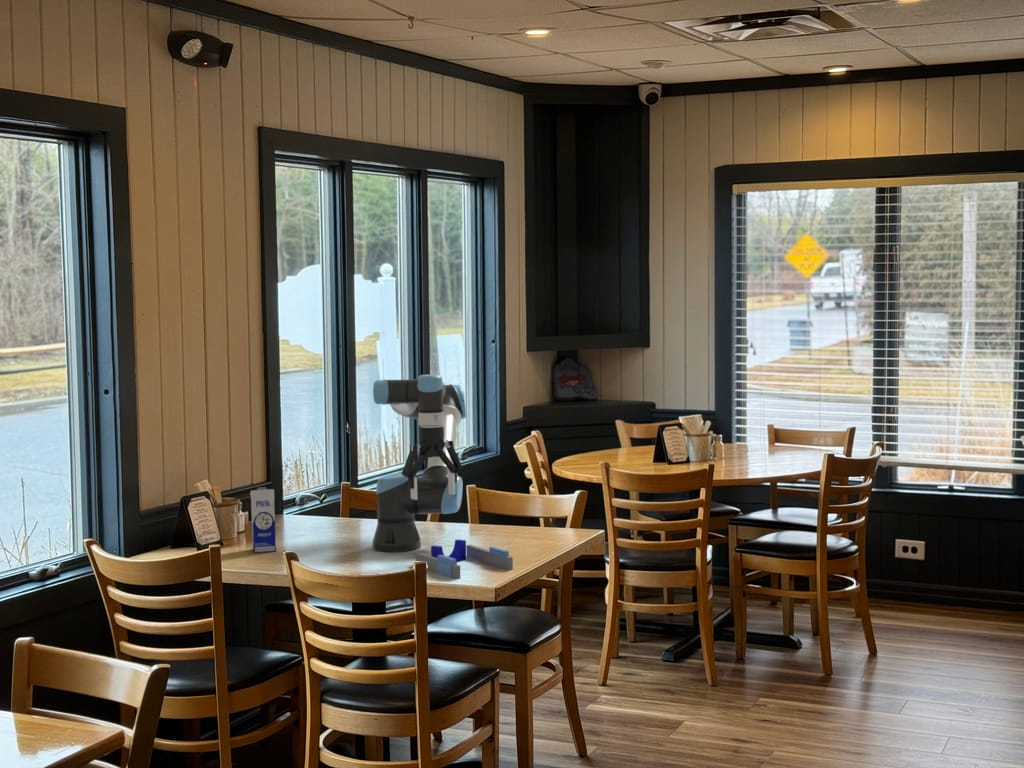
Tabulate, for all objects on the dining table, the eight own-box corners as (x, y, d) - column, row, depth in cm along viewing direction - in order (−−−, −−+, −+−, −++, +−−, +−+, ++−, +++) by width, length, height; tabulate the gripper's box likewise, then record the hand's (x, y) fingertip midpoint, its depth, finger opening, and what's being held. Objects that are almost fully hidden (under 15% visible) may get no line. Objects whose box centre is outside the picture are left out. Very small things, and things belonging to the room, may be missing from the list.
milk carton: (253, 553, 374) (251, 489, 372) (252, 549, 380) (249, 486, 379) (276, 551, 375) (274, 488, 374) (274, 547, 382) (272, 485, 381)
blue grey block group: (414, 564, 352) (414, 548, 351) (470, 556, 362) (470, 539, 362) (454, 579, 333) (454, 561, 332) (512, 569, 343) (512, 552, 343)
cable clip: (442, 568, 347) (442, 547, 347) (431, 566, 350) (431, 546, 350) (470, 560, 357) (469, 541, 356) (458, 559, 360) (458, 539, 359)
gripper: (401, 430, 349) (403, 503, 351) (472, 423, 363) (474, 493, 365) (389, 428, 356) (391, 499, 357) (459, 421, 369) (461, 490, 371)
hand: (433, 496), depth 361 cm, fingers open, 12 cm apart
